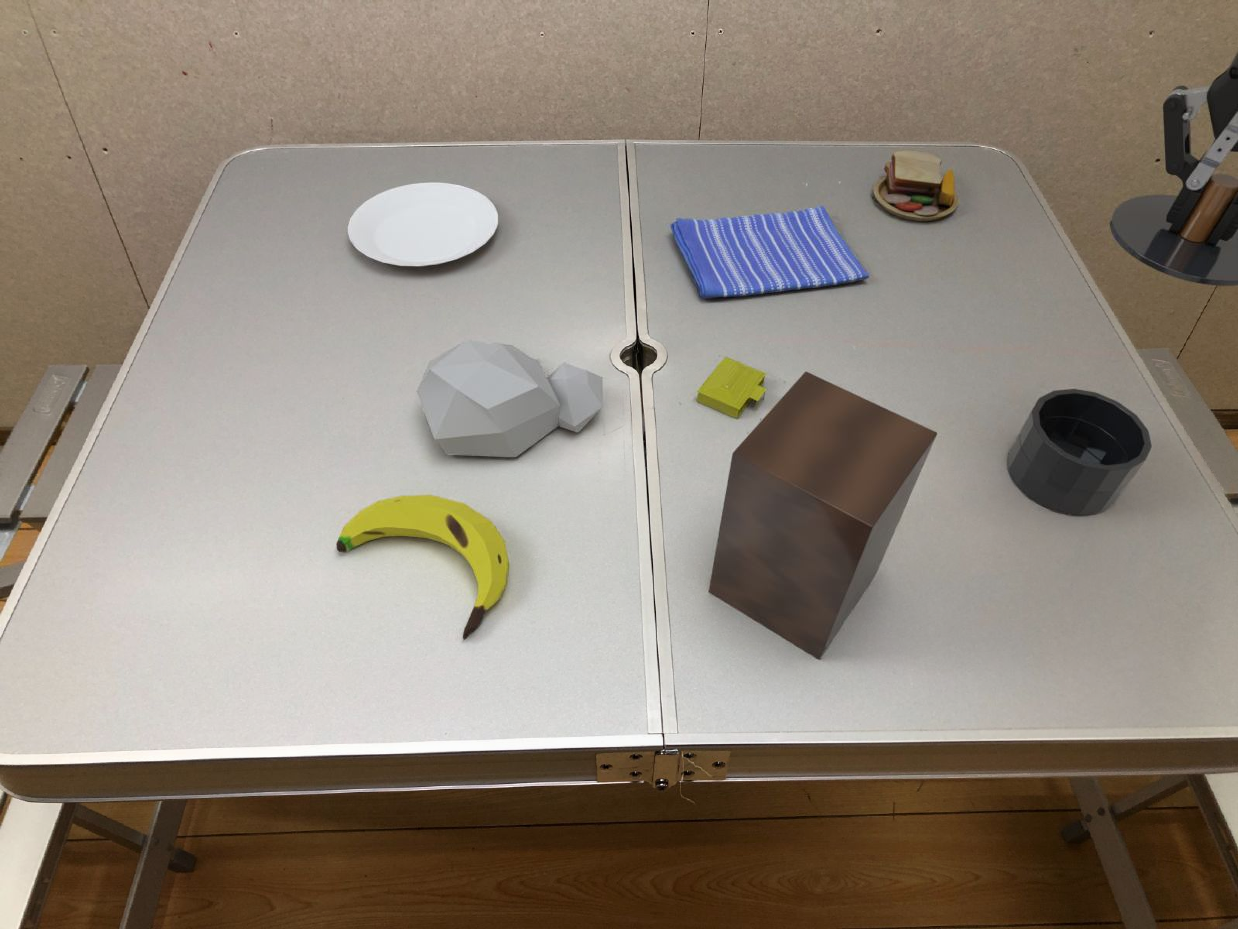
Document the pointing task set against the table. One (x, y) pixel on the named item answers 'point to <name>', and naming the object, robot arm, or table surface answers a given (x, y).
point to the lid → (1181, 234)
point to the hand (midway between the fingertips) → (1194, 233)
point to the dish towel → (765, 253)
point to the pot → (1077, 452)
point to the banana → (439, 539)
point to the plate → (423, 224)
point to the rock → (502, 399)
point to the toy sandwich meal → (916, 187)
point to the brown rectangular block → (814, 509)
